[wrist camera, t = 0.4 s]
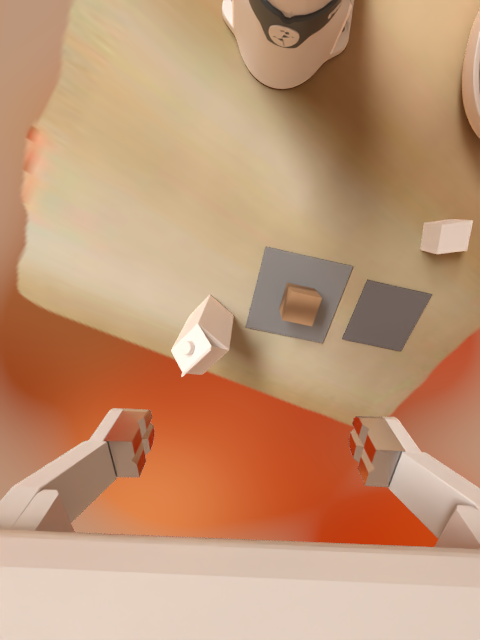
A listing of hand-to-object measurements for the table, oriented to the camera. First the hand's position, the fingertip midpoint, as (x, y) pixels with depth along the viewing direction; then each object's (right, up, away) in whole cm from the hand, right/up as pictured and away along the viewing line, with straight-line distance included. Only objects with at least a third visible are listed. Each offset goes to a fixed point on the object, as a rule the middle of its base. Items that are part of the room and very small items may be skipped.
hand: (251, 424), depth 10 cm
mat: (+31, +5, +46) cm, 56 cm away
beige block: (+37, +20, +39) cm, 57 cm away
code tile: (+11, +9, +45) cm, 47 cm away
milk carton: (-7, +5, +47) cm, 48 cm away
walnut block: (+11, +9, +44) cm, 47 cm away
